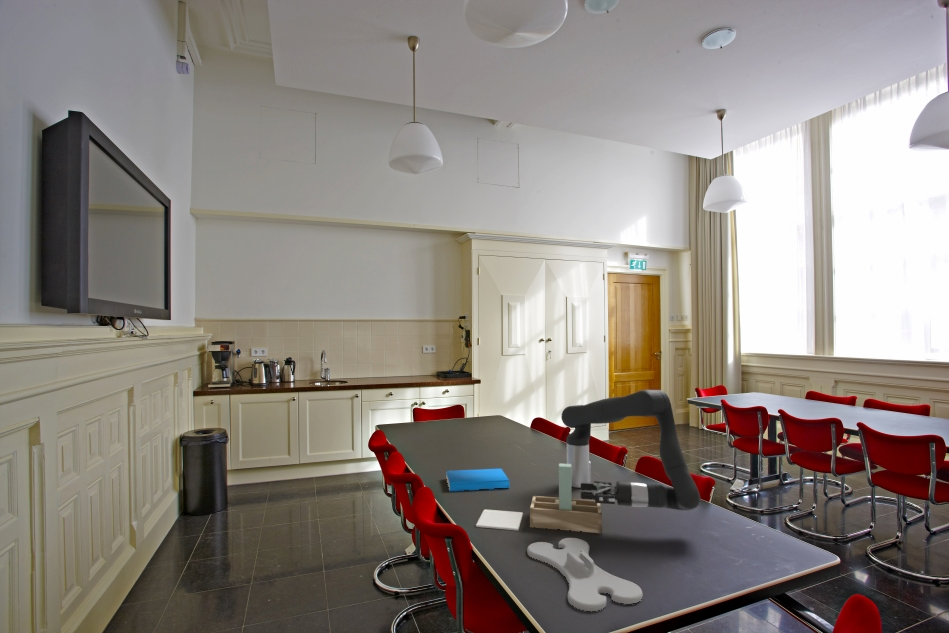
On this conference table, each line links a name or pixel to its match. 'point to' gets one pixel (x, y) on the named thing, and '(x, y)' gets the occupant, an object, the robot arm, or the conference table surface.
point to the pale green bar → (565, 487)
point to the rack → (566, 515)
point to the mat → (500, 519)
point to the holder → (584, 575)
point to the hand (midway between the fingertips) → (580, 490)
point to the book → (476, 479)
